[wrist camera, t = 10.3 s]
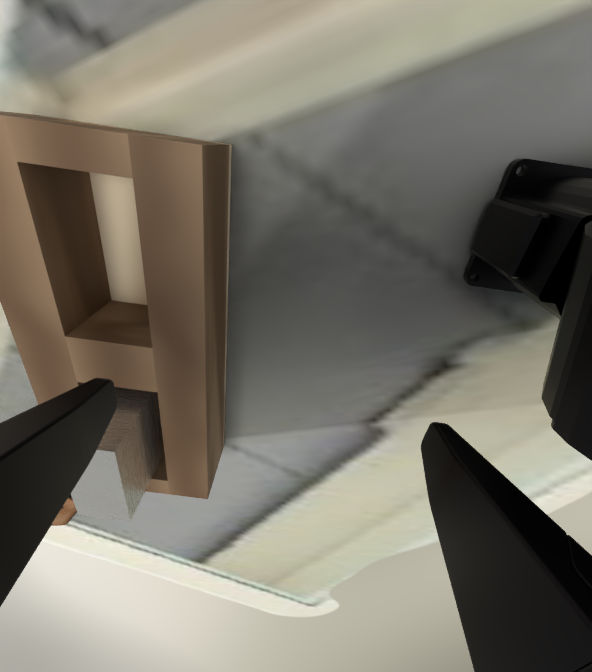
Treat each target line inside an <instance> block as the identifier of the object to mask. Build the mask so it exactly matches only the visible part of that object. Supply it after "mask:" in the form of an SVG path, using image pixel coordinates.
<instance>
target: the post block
mask: <svg viewBox="0 0 592 672" xmlns="http://www.w3.org/2000/svg"><path fill="white" fill-rule="evenodd" d="M231 150H232V145H231V144H225V143H218V142H211V141H205V140H198V139H191V138H185V137H178V136H171V135H165V134H158V133H151V132H145V131H138V130H131V129H125V128H118V127H111V126H104V125H98V124H91V123H84V122H78V121H71V120H64V119H58V118H51V117H44V116H38V115H31V114H21V113H11V112H1V111H0V302H1V304H2V307H3V310H4V312H5V315H6V318H7V321H8V323H9V326H10V329H11V331H12V334H13V337H14V340H15V342H16V345H17V348H18V350H19V353H20V356H21V358H22V361H23V364H24V367H25V369H26V372H27V375H28V377H29V380H30V383H31V386H32V388H33V391H34V394H35V396H36V399H37V402H38V405H39V404H41V403H44V402H46V401H48V400H50V399H52V398H54V397H56V396H58V395H60V394H62V393H65V392H67V391H69V390H71V389H73V388H75V387H77V386H79V385H81V384H83V383H86V382H88V381H90V380H92V379H94V378H105V379H110V380H112V381H113V383H114V387H119V388H127V389H135V390H142V391H150V392H157V393H158V401H159V410H160V418H161V427H162V436H163V444H164V454H163V456H162V458H161V460H160V462H159V464H158V466H157V468H156V470H155V472H154V474H153V476H152V478H151V480H150V482H149V484H148V486H147V488H146V490H145V491H148V492H156V493H164V494H172V495H180V496H188V497H196V498H204V499H208V497H209V493H210V490H211V487H212V483H213V480H214V477H215V473H216V470H217V467H218V463H219V460H220V457H221V453H222V450H223V447H224V442H225V400H226V358H227V317H228V275H229V234H230V192H231Z"/></svg>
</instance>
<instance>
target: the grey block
mask: <svg viewBox="0 0 592 672" xmlns="http://www.w3.org/2000/svg"><path fill="white" fill-rule="evenodd" d="M115 392H116V397H117V408H116V411H115V413H114V415H113V417H112V419H111V421H110V423H109V425H108V427H107V430H106V432H105V434H104V436H103V438H102V440H101V442H100V444H99V446H98V448H97V450H96V452H95V454H94V456H93V458H92V460H91V462H90V463H89V465H88V467H87V468H86V470H85V471H84V473H83V475H82V476H81V478H80V480H79V481H78V483H77V484H76V486H75V488H74V489H73V491H72V492H71V496H72V499H73V502H74V505H75V507H76V510H77V513H78V515H83V516H91V517H99V518H107V519H115V520H123V521H131V519H132V517H133V515H134V513H135V511H136V509H137V507H138V505H139V503H140V501H141V499H142V497H143V495H144V493H145V490H146V488H147V486H148V484H149V482H150V480H151V478H152V476H153V474H154V472H155V470H156V468H157V466H158V464H159V462H160V460H161V458H162V456H163V454H164V444H163V436H162V427H161V418H160V410H159V401H158V393H157V392H150V391H142V390H135V389H127V388H119V387H115Z"/></svg>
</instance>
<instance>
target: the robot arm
mask: <svg viewBox="0 0 592 672" xmlns="http://www.w3.org/2000/svg"><path fill="white" fill-rule="evenodd" d="M521 165H522V166H523V171H522V173H521V174H519V175H517V174H516V171H517V169H518V167H519V166H521ZM472 251H473V254H472V256H471V259H470V261H469V264H468V266H467V268H466V271H465V273H464V280H465V281H466V282H467V283H468V284H469V285H472V286H478V287H485V288H492V289H499V290H506V291H513V292H520V293H524V294H526V295H527V296H529V297H530V298H531V299H533V300H534V301H535V302H537V303H538V304H540V305H541V306H542V307H544V308H545V309H547V310H548V311H549V312H551V313H552V314H554V315H555V316H556V317H558V318H559V319H560V323H559V326H558V330H557V334H556V338H555V342H554V346H553V349H552V353H551V357H550V361H549V365H548V368H547V372H546V376H545V380H544V384H543V391H542V400H543V402H544V404H545V407H546V409H547V411H548V413H549V416H550V417H551V418H552V419H553V420H552V423H551V426H552V428H553V429H554V430H555V431H556V432H557V433H558V434H559V435H560V436H561V437H562V438H563V439H564V440H565V441H566V442H567V443H568V444H569V445H570V446H572V447H573V448H575V449H576V450H577V451H579V452H580V453H582V454H583V455H584V456H586V457H587V458H589V459H590V460H592V169H590V168H583V167H577V166H570V165H563V164H557V163H550V162H544V161H537V160H531V159H517V160H515V161H513V162H512V163H511V164H510V166H509V167H508V169H507V172H506V174H505V176H504V179H503V181H502V184H501V186H500V188H499V191H498V193H497V196H496V198H495V200H494V201H492V202H491V203H490V205H489V207H488V210H487V212H486V214H485V217H484V219H483V222H482V224H481V227H480V229H479V232H478V234H477V237H476V239H475V241H474V244H473V246H472ZM475 273H477V276H476V278H474V279H471V276H472V275H473V274H475ZM116 408H117V397H116V392H115V387H114V383H113V381H112V380H110V379H105V378H94V379H92V380H90V381H88V382H86V383H83V384H81V385H79V386H77V387H75V388H73V389H71V390H69V391H67V392H65V393H62V394H60V395H58V396H56V397H54V398H52V399H50V400H48V401H46V402H44V403H41V404H39V405H37V406H35V407H33V408H31V409H29V410H27V411H25V412H23V413H20V414H18V415H16V416H14V417H12V418H10V419H8V420H6V421H4V422H2V423H0V606H1V605H2V603H3V602H4V600H5V599H6V597H7V595H8V594H9V592H10V590H11V589H12V587H13V585H14V584H15V582H16V581H17V579H18V578H19V576H20V574H21V573H22V571H23V569H24V568H25V566H26V565H27V563H28V561H29V560H30V558H31V557H32V555H33V553H34V552H35V550H36V549H37V547H38V545H39V544H40V542H41V541H42V539H43V537H44V536H45V534H46V533H47V531H48V529H49V528H50V526H51V525H52V523H53V521H54V520H55V518H56V517H57V515H58V513H59V512H60V510H61V508H62V507H63V505H64V504H65V502H66V500H67V499H68V497H69V496H70V494H71V492H72V491H73V489H74V488H75V486H76V484H77V483H78V481H79V480H80V478H81V476H82V475H83V473H84V471H85V470H86V468H87V467H88V465H89V463H90V462H91V460H92V458H93V456H94V454H95V452H96V450H97V448H98V446H99V444H100V442H101V440H102V438H103V436H104V434H105V432H106V430H107V427H108V425H109V423H110V421H111V419H112V417H113V415H114V413H115V411H116ZM421 452H422V458H423V465H424V471H425V478H426V484H427V491H428V497H429V502H430V506H431V510H432V514H433V518H434V522H435V525H436V529H437V533H438V537H439V540H440V544H441V548H442V552H443V555H444V559H445V563H446V567H447V570H448V574H449V578H450V581H451V585H452V589H453V593H454V597H455V600H456V604H457V608H458V612H459V615H460V618H461V623H462V627H463V630H464V634H465V638H466V642H467V645H468V649H469V653H470V656H471V660H472V664H473V668H474V671H475V672H592V555H590V554H589V553H588V552H587V551H586V550H585V549H584V548H583V547H582V546H581V545H579V544H578V543H577V542H576V541H575V540H574V539H573V538H572V537H571V536H569V535H566V532H565V531H564V530H563V529H562V528H561V527H560V526H559V525H557V524H556V523H555V522H554V521H553V520H552V519H551V518H550V517H549V516H548V515H546V514H545V513H544V512H543V511H542V510H541V509H540V508H539V507H538V506H537V505H536V504H534V503H533V502H532V501H531V500H530V499H529V498H528V497H527V496H526V495H525V494H523V493H522V492H521V491H520V490H519V489H518V488H517V487H516V486H515V485H514V484H513V483H511V482H510V481H509V480H508V479H507V478H506V477H505V476H504V475H503V474H502V473H500V472H499V471H498V470H497V469H496V468H495V467H494V466H493V465H492V464H491V463H490V462H488V461H487V460H486V459H485V458H484V457H483V456H482V455H481V454H480V453H479V452H477V451H476V450H475V449H474V448H473V447H472V446H471V445H470V444H469V443H468V442H467V441H465V440H464V439H463V438H462V437H461V436H460V435H459V434H458V433H457V432H456V431H454V430H453V429H452V428H451V427H450V426H449V425H447V424H445V423H438V422H433V423H431V424H430V426H429V428H428V430H427V432H426V434H425V436H424V438H423V440H422V443H421Z"/></svg>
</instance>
